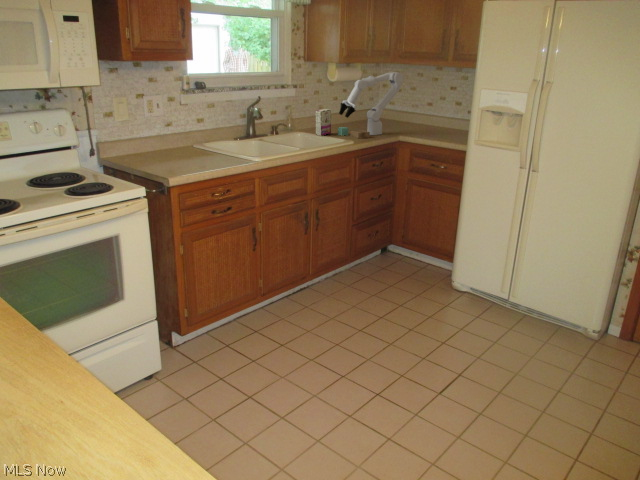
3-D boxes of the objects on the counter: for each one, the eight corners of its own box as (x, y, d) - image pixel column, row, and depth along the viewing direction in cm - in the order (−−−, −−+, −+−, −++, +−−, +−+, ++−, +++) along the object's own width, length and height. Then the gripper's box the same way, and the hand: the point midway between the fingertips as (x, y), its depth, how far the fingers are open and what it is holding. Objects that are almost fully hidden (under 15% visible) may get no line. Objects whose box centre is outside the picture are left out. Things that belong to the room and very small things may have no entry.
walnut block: (361, 136, 355) (361, 130, 353) (369, 138, 348) (369, 132, 346) (350, 137, 350) (350, 131, 349) (358, 139, 343) (358, 133, 342)
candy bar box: (325, 133, 362) (325, 108, 356) (331, 134, 359) (331, 109, 353) (315, 135, 354) (315, 110, 348) (321, 136, 351) (321, 110, 345)
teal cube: (344, 134, 360) (344, 126, 358) (348, 135, 356) (348, 127, 354) (337, 134, 357) (337, 127, 356) (341, 136, 353) (342, 128, 352)
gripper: (343, 92, 351) (333, 110, 353) (355, 96, 340) (344, 115, 342) (350, 97, 355) (340, 115, 357) (362, 101, 344) (352, 120, 346)
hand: (343, 115), depth 350 cm, fingers open, 7 cm apart
